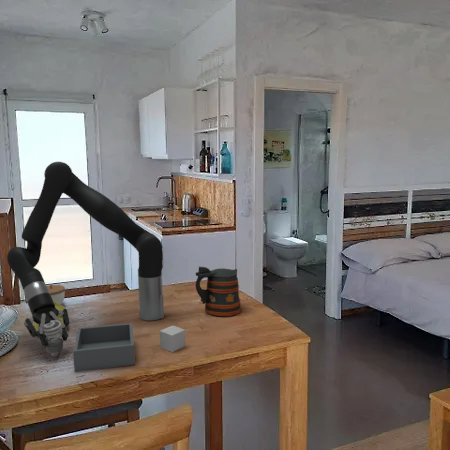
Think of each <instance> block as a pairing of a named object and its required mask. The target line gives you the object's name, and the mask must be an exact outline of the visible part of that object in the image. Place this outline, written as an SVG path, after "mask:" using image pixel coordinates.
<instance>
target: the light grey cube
mask: <svg viewBox="0 0 450 450" xmlns="http://www.w3.org/2000/svg"><path fill="white" fill-rule="evenodd" d="M185 347H186V330H185V329H184V328H181V327H178V326H175V325H170V326H168V327H166V328H163V329H161V330H159V348H160V349H164V350H165V351H168V352H171V353H174V352H176V351H178V350H180V349H183V348H185Z"/></svg>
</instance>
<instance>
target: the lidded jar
mask: <svg viewBox="0 0 450 450" xmlns="http://www.w3.org/2000/svg"><path fill="white" fill-rule="evenodd" d="M46 286H47V287H48V290H49V292H50V294H51V297H52V299H53V302H56V303H59V304H61V305H62V304H63V302H64V300H65V298H66V297H65V295H66V294H65V293H66V292H65V291H66V290H65V289H66V288H65V286H63V285H60V284H48V285H46Z"/></svg>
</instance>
